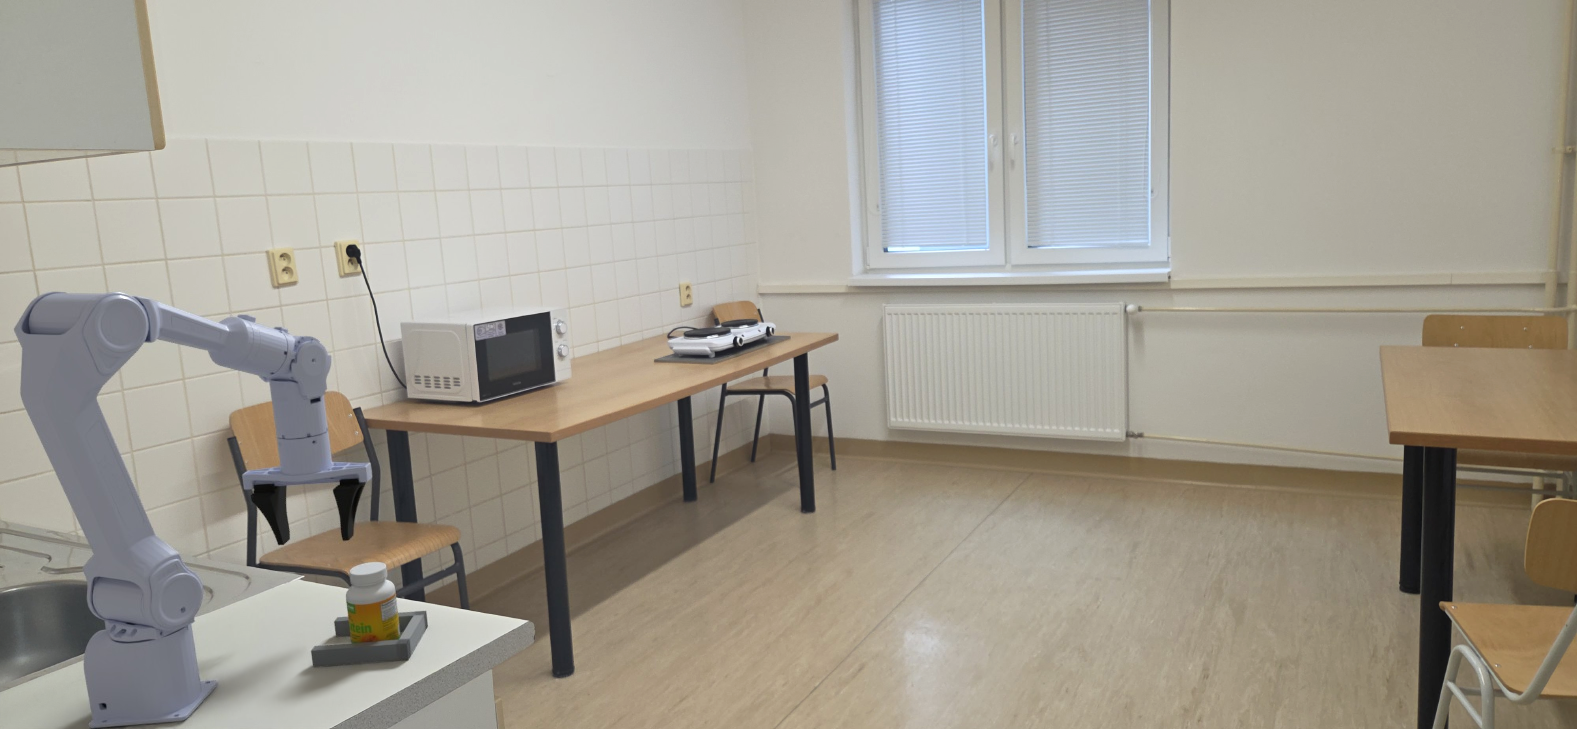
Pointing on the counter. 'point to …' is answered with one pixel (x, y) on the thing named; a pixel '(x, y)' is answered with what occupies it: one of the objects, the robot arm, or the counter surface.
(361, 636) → the supplement bottle
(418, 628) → the gray u-shaped bracket
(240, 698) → the counter surface
